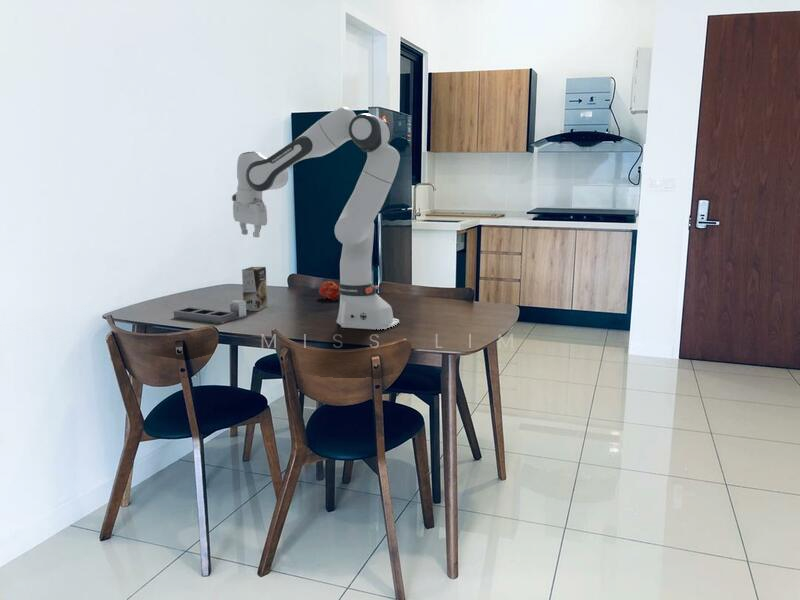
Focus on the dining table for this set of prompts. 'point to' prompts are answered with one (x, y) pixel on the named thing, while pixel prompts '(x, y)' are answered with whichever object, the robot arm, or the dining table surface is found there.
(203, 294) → the dining table surface
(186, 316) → the grey compartment tray
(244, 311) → the nut block
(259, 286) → the coffee box
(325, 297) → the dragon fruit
